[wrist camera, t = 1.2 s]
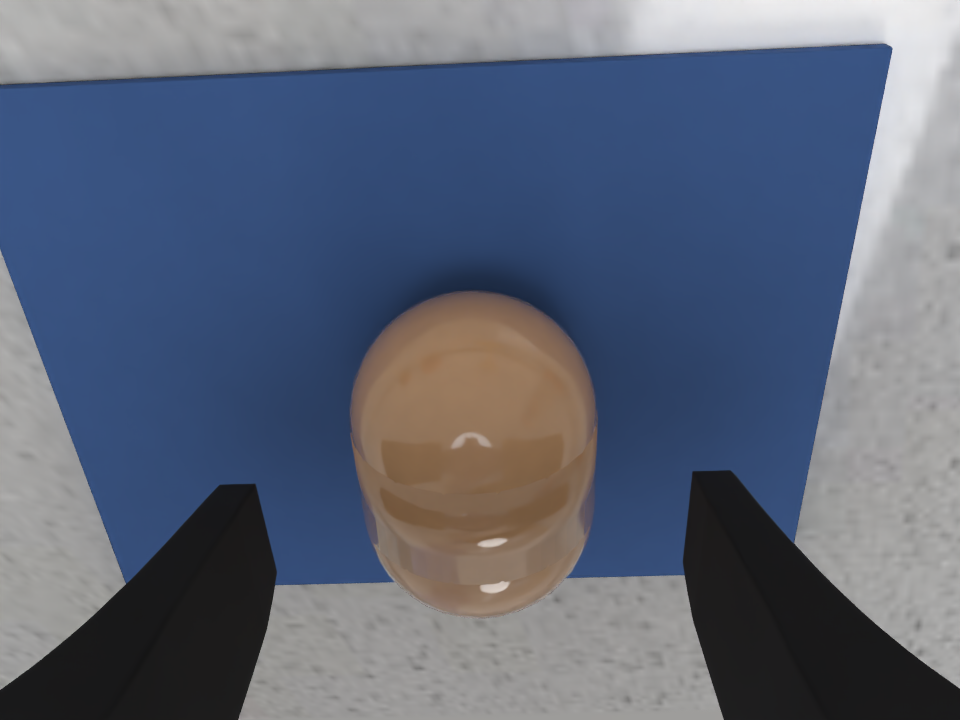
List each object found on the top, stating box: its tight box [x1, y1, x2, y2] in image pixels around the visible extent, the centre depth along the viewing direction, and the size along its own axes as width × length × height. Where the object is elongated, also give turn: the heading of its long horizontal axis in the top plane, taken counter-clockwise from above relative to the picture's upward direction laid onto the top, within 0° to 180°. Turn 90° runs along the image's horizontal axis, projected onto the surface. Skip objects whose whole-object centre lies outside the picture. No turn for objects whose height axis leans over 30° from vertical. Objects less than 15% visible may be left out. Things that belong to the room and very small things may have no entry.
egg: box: [349, 290, 598, 619], centre depth 16 cm, size 6×4×4 cm
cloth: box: [0, 44, 892, 585], centre depth 17 cm, size 16×12×1 cm
